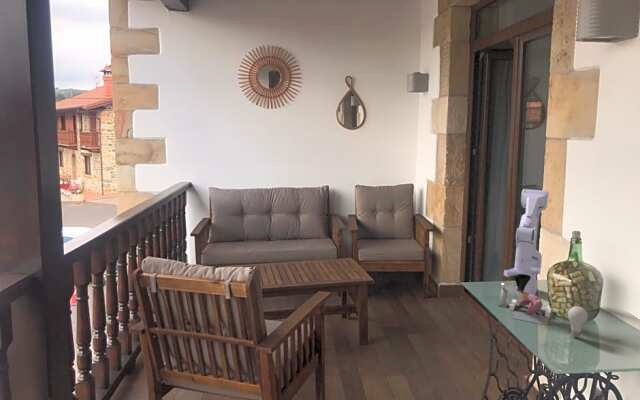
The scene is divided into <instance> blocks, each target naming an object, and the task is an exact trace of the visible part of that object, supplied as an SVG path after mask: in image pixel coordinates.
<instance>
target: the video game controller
mask: <svg viewBox="0 0 640 400" xmlns="http://www.w3.org/2000/svg"><path fill="white" fill-rule="evenodd" d="M543 304H544V303H543V301H542V299H541V298H540V297H539V296H537V295H536V294H535V295H531V294H530V295H528V299H521V300H520V301H519V303H518V305H519V306H520V307H525V306H527V308H528V309H527V311H526V313H527V314H536V313H537V312H539V311H540V310H541V309H542V308H543Z"/></svg>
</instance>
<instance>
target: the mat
mask: <svg viewBox="0 0 640 400" xmlns="http://www.w3.org/2000/svg"><path fill="white" fill-rule="evenodd" d="M511 319H514V320H518V321H522V322H527V323H528V322H529V323H532V324H533V323H534V324H537V325H544V326H548V322H549V319H550V317H545V315H539V314H536V313H534V314H527V312H525V311H519V310H514V312H513V314H512V317H511Z"/></svg>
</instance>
